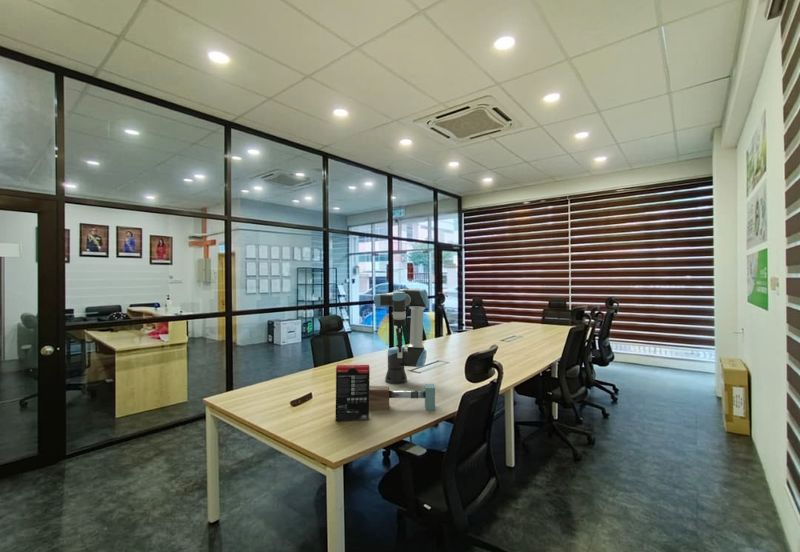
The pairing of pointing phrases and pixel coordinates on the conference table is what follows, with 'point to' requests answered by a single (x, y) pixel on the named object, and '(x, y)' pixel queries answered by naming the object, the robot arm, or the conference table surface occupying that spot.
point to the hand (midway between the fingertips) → (399, 355)
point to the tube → (407, 394)
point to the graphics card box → (352, 392)
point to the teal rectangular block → (430, 397)
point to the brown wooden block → (378, 397)
